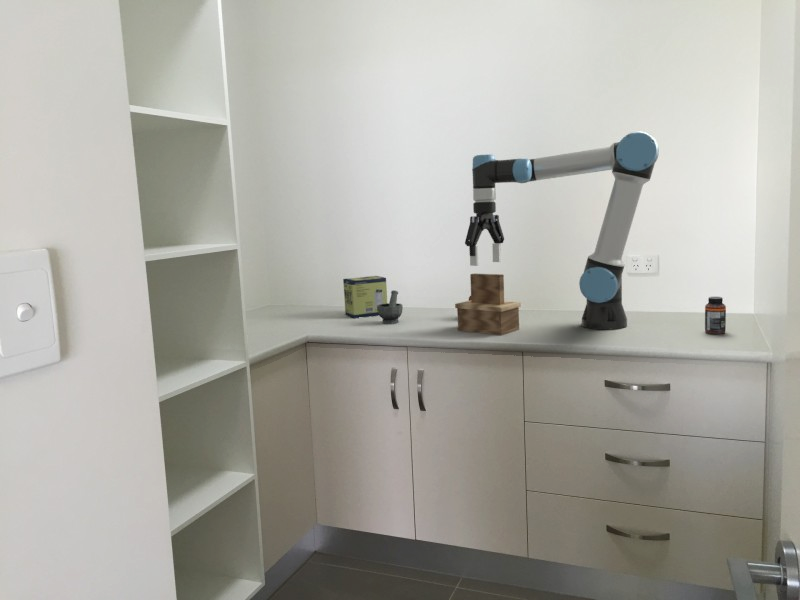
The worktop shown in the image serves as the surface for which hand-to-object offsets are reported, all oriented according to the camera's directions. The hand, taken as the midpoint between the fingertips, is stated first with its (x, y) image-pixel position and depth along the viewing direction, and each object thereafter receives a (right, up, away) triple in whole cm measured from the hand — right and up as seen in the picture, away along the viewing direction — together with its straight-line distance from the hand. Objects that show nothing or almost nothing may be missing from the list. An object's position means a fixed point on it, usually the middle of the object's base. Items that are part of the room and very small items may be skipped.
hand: (485, 263), depth 232 cm
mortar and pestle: (-33, -21, +28) cm, 48 cm away
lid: (+1, -15, +2) cm, 15 cm away
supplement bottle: (+70, -23, -19) cm, 76 cm away
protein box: (-43, -19, +49) cm, 68 cm away
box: (+1, -23, +3) cm, 23 cm away
